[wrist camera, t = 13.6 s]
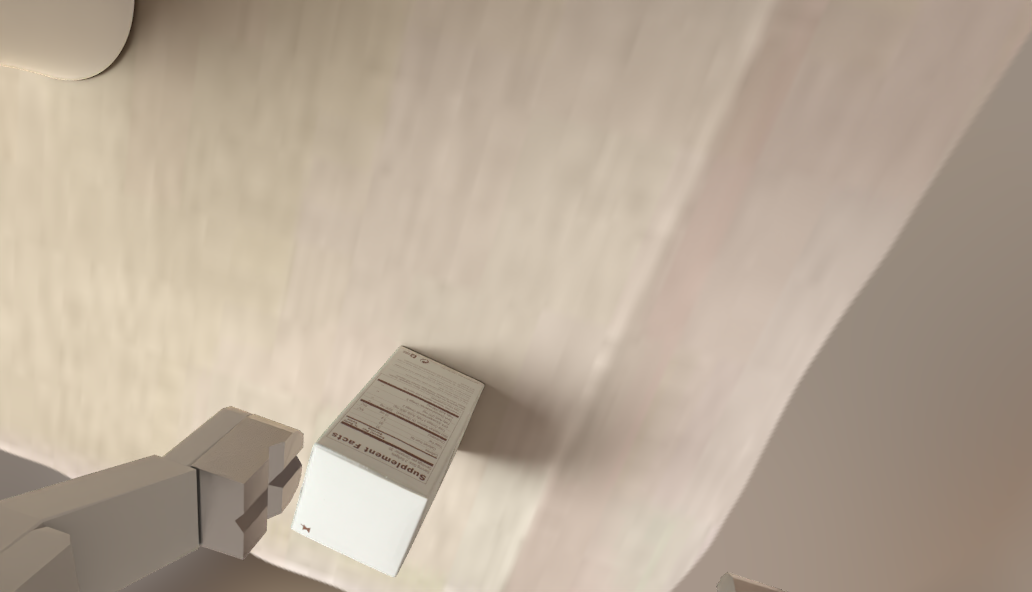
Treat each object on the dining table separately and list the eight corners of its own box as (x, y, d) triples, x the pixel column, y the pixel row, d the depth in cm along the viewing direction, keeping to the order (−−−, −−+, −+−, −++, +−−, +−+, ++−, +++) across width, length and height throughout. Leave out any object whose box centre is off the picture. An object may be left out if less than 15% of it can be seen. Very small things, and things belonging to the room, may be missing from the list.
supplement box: (458, 452, 45) (394, 584, 33) (375, 413, 45) (284, 530, 34) (489, 382, 42) (430, 501, 30) (400, 341, 42) (309, 443, 31)
